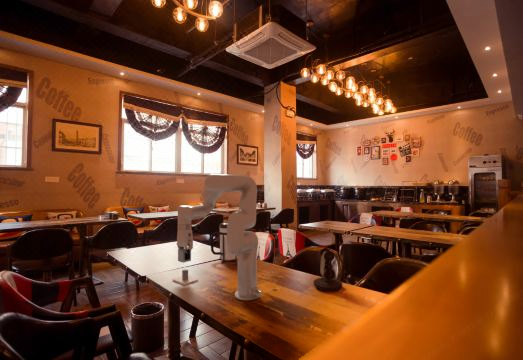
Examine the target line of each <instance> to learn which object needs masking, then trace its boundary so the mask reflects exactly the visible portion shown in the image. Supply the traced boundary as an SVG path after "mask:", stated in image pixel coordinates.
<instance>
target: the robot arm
mask: <svg viewBox="0 0 523 360" xmlns="http://www.w3.org/2000/svg"><path fill="white" fill-rule="evenodd" d="M204 187H205V188H204V189H203V191H202V193H201V194H202V198H203V200H204V201H203V202H202V203H201V204H197V205H187V204H186V205H184V204H183V205H182V204H181V205H179V206H178V207H177V235H176V246H177V248H178V249H182V248H185V252H186V253H185V260H189V259H190V252H191V253H192V250H193V248H194V247H193V246H194V236H193V235H194V234H193V230H192V220H198V219H203V218H206V217H207V216H208V215H209V214H210V213H211V212H213V210H214V208H215V206H216V205H215V204H216V201H217V199H219V198H220V197H221V195H223V193H237V192H239V193H240V192H241V195H240V198H239V202H238V203H239V205H238V210H236V211H233V212H232V213H230V215H228V218H227V219H228V221H227V220H226V222H227V248H228V250H229V252H230V253H231V254H233V255H237V259H238V261H237V260H236V261H237V290H236V291H235V292H234V298H236V299H237V300H239V301H240V300H241V301H253V300H256V299H258V298H261V296H262V294H263V291H262V290H260V289H259V286H258V277H257V276H258V275H257V273H258V270H257V268H258V266H257V263H258V262H257V259H258V258H257V257H258V255H257V254H258V248H259V238H258V235H257V234H256V233H255V232H254V231H252V230H249V229H252V228H254V227H255V226H256V223H257V196H258V186H257V183H256V181H255V180H254V179H253V178H252V177H251V176H249V175H246V174H224V173H210V174H208V175H207V176H206V178H205V179H204ZM187 248H188V250H187ZM178 249H177V250H178Z"/></svg>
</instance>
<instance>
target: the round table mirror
mask: <svg viewBox="0 0 523 360" xmlns="http://www.w3.org/2000/svg"><path fill="white" fill-rule="evenodd" d="M319 255H320V256H321V258H320V266H319V267H320V268H319V269H320V275H321V276H322V277H321V276H320V277H317V278H316V279H314V280H313V286H314V287H316V288H318V289H320V292H323V290H327V291H334V290H335V291H336V290H339V291H341V290H342V288H343V282H342V281H341V280H340V279H337V278H335V276H336V272H335V270H333V269H332V268H333V265H332V264H333V263H332V262H333V261H334V259H335V253H334V252H333V251H332V250H330V249H329V248H327V247H324V248H322V249H321V250H320V251H319Z"/></svg>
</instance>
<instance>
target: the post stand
mask: <svg viewBox="0 0 523 360" xmlns="http://www.w3.org/2000/svg"><path fill="white" fill-rule="evenodd" d="M181 272H182V273H181V276H178V277H175V278H172V281H173V282H175V283H177V284H178V285H181V286H187V285H190V284H194V283H197V282H199V279H197V278H195V277H192V276H190V275H189V269H182V271H181Z"/></svg>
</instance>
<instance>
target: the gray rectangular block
mask: <svg viewBox="0 0 523 360" xmlns="http://www.w3.org/2000/svg"><path fill="white" fill-rule="evenodd" d="M187 250H188V248H187ZM185 253H186V252H185V248H182V249H177V262H180V263H187V262H191V261H192V251H191V252H190V259H189V260H185Z"/></svg>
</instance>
